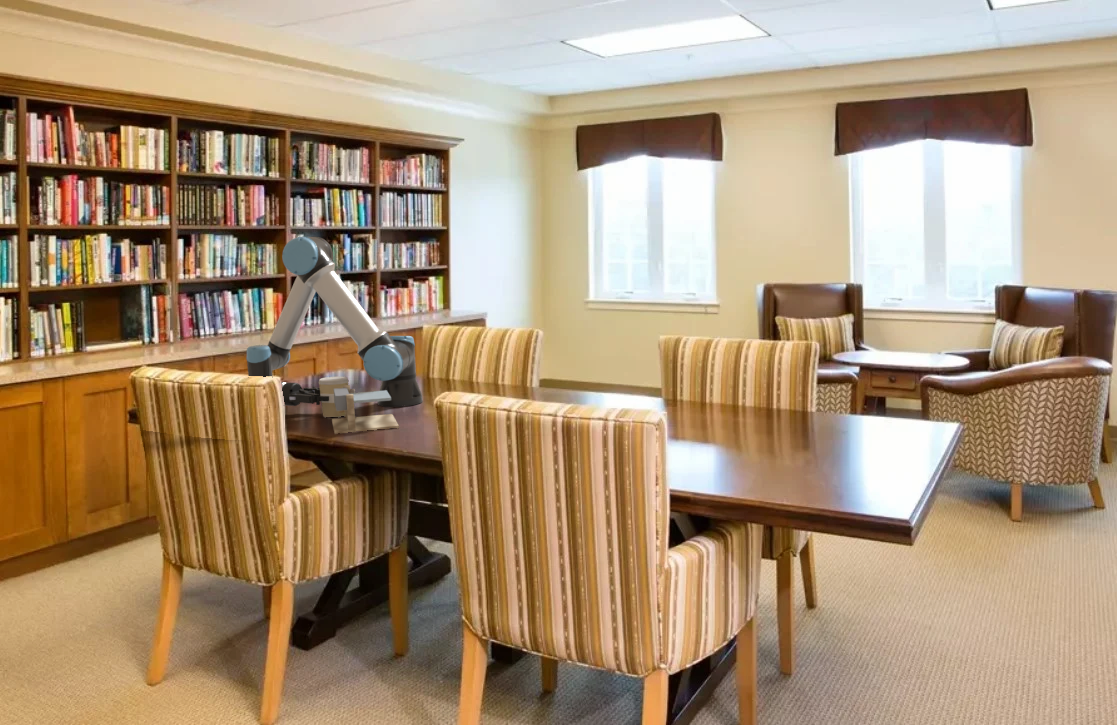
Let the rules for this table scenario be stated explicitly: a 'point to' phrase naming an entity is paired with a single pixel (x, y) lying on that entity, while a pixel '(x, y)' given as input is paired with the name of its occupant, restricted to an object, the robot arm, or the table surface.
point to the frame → (361, 419)
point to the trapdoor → (358, 397)
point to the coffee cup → (328, 387)
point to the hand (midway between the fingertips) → (346, 395)
